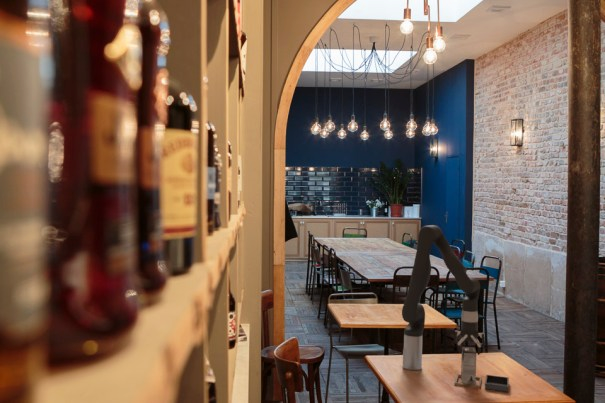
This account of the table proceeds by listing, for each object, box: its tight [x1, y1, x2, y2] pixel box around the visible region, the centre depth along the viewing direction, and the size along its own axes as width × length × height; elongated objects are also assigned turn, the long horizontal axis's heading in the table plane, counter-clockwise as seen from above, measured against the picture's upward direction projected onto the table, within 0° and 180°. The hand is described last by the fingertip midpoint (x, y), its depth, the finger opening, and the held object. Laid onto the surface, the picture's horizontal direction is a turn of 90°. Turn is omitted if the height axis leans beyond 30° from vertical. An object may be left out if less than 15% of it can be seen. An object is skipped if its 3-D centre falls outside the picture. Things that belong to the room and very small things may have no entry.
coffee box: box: [460, 346, 477, 385], centre depth 267 cm, size 9×6×16 cm
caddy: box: [484, 374, 510, 394], centre depth 262 cm, size 10×13×3 cm
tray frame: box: [454, 373, 483, 390], centre depth 267 cm, size 12×14×1 cm
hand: (469, 353), depth 266 cm, fingers open, 8 cm apart
